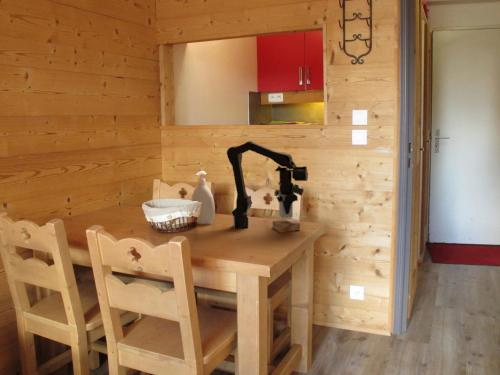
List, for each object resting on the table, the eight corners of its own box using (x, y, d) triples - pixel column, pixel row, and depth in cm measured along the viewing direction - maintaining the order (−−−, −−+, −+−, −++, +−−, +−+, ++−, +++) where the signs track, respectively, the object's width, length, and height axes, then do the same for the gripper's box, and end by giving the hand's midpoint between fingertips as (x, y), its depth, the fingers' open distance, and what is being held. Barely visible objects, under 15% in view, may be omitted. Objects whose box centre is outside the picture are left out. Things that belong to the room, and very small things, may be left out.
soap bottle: (186, 223, 255) (184, 171, 251) (196, 220, 261) (194, 169, 258) (208, 226, 247) (206, 172, 243) (218, 223, 253) (217, 170, 250)
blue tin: (282, 217, 234) (282, 202, 233) (279, 215, 239) (279, 201, 238) (292, 216, 235) (292, 202, 234) (289, 214, 240) (289, 200, 239)
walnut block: (280, 233, 232) (280, 224, 231) (272, 228, 241) (272, 220, 240) (299, 231, 235) (299, 222, 234) (291, 227, 244) (291, 219, 243)
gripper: (308, 182, 227) (308, 215, 229) (295, 177, 245) (295, 208, 247) (284, 183, 225) (285, 217, 227) (273, 178, 243) (274, 209, 245)
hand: (285, 213), depth 237 cm, fingers closed on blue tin, 5 cm apart
